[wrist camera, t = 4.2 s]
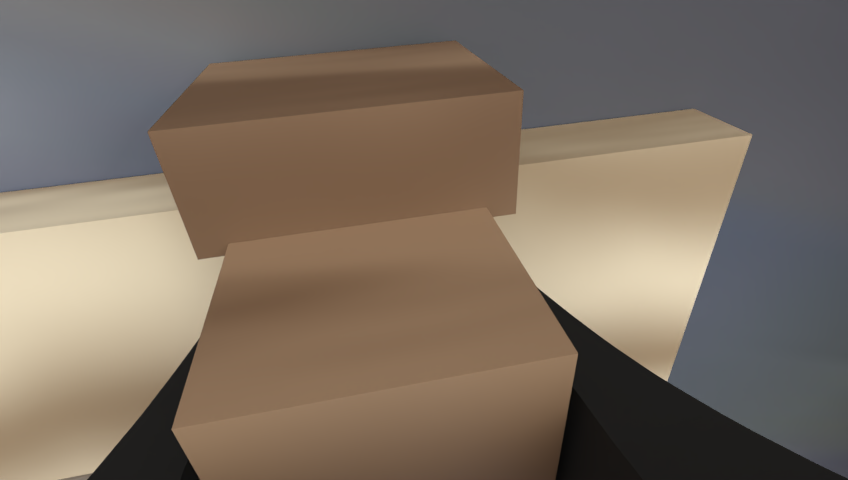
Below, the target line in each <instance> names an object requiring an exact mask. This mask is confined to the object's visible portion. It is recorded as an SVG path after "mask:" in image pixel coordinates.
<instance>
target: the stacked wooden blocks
mask: <svg viewBox="0 0 848 480" xmlns="http://www.w3.org/2000/svg"><path fill="white" fill-rule="evenodd" d="M522 107H523V90H522V89H521V88H520V87H518V86H517V85H516V84H514V83H513V82H511V81H510V80H509V79H507V78H506V77H505V76H503V75H502V74H500V73H499V72H498V71H496V70H495V69H494V68H492V67H491V66H489V65H488V64H487V63H485V62H484V61H483V60H481V59H480V58H478V57H477V56H476V55H474V54H473V53H472V52H470V51H469V50H467V49H466V48H465V47H463V46H462V45H461V44H459V43H458V42H456V41H446V42H436V43H425V44H415V45H404V46H393V47H383V48H372V49H362V50H351V51H341V52H330V53H319V54H309V55H298V56H288V57H277V58H267V59H256V60H245V61H235V62H224V63H214V64H209V65H208V66H207V68H206V69H205V70H204V71H203V72H202V73H201V74H200V75H199V76H198V77H197V78H196V79H195V81H194V82H193V83H192V84H191V85H190V86H189V87H188V88H187V89H186V90H185V91H184V93H183V94H182V95H181V96H180V97H179V98H178V99H177V100H176V101H175V102H174V103H173V105H172V106H171V107H170V108H169V109H168V110H167V111H166V112H165V113H164V114H163V115H162V116H161V118H160V119H159V120H158V121H157V122H156V123H155V124H154V125H153V126H152V127H151V128H150V130H149V131H148V134H149V137H150V139H151V142H152V145H153V147H154V150H155V152H156V155H157V157H158V160H159V162H160V165H161V167H162V170H163V172H164V175H165V178H166V180H167V183H168V185H169V188H170V190H171V193H172V195H173V198H174V200H175V203H176V205H177V208H178V211H179V213H180V216H181V218H182V221H183V223H184V226H185V228H186V231H187V233H188V236H189V238H190V241H191V244H192V246H193V249H194V251H195V254H196V256H197V259H198V260H200V259H207V258H214V257H220V256H225V257H224V260H223V263H222V267H221V270H220V273H219V276H218V280H217V283H216V286H215V289H214V293H213V296H212V299H211V302H210V306H209V309H208V312H207V315H206V319H205V322H204V325H203V328H202V332H201V335H200V338H199V341H198V345H197V348H196V351H195V354H194V358H193V361H192V364H191V367H190V371H189V374H188V377H187V380H186V384H185V387H184V390H183V393H182V397H181V400H180V403H179V406H178V410H177V413H176V416H175V419H174V423H173V426H172V429H171V430H172V431H173V433H174V435H175V437H176V438H177V440H178V442H179V444H180V445H181V447H182V449H183V451H184V452H185V454H186V456H187V458H188V459H189V461H190V463H191V465H192V466H193V468H194V470H195V472H196V473H197V475H198V477H199V479H200V480H556V474H557V468H558V463H559V457H560V452H561V446H562V441H563V435H564V430H565V424H566V419H567V413H568V407H569V402H570V396H571V391H572V385H573V380H574V374H575V369H576V363H577V358H578V352H577V351H576V349H575V347H574V346H573V344H572V343H571V341H570V339H569V338H568V336H567V335H566V333H565V331H564V330H563V328H562V327H561V325H560V324H559V322H558V320H557V319H556V317H555V316H554V314H553V312H552V311H551V309H550V308H549V306H548V304H547V303H546V301H545V300H544V298H543V296H542V295H541V293H540V292H539V290H538V288H537V287H536V285H535V284H534V282H533V280H532V279H531V277H530V276H529V274H528V272H527V271H526V269H525V268H524V266H523V264H522V263H521V261H520V260H519V258H518V256H517V255H516V253H515V252H514V250H513V248H512V247H511V245H510V244H509V242H508V241H507V239H506V237H505V236H504V234H503V233H502V231H501V229H500V228H499V226H498V225H497V223H496V221H495V220H494V218H493V217H497V216H504V215H511V214H516V204H517V188H518V171H519V155H520V139H521V123H522Z"/></svg>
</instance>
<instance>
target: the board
mask: <svg viewBox="0 0 848 480" xmlns="http://www.w3.org/2000/svg"><path fill="white" fill-rule="evenodd" d="M751 137H752V134H750V133H747V132H745V131H743V130H741V129H738V128H736V127H734V126H732V125H729V124H727V123H725V122H723V121H720V120H718V119H716V118H714V117H711V116H709V115H707V114H705V113H702V112H700V111H698V110H696V109H688V110H680V111H671V112H663V113H655V114H647V115H638V116H630V117H622V118H614V119H605V120H597V121H589V122H581V123H572V124H564V125H556V126H548V127H539V128H531V129H523V130H521V139H520V155H519V171H518V188H517V204H516V214H511V215H504V216H497V217H493V218H494V220H495V221H496V223H497V225H498V226H499V228H500V229H501V231H502V233H503V234H504V236H505V237H506V239H507V241H508V242H509V244H510V245H511V247H512V248H513V250H514V252H515V253H516V255H517V256H518V258H519V260H520V261H521V263H522V264H523V266H524V268H525V269H526V271H527V272H528V274H529V276H530V277H531V279H532V280H533V282H534V284H535V285H536V287H537V288H539V289H540V290H541V291H542V292H544V293H545V294H546V295H547V296H549V297H550V298H551V299H552V300H553V301H555V302H556V303H557V304H558V305H560V306H561V307H562V308H563V309H565V310H566V311H567V312H569V313H570V314H571V315H572V316H574V317H575V318H576V319H578V320H579V321H580V322H582V323H583V324H584V325H586V326H587V327H588V328H590V329H591V330H592V331H594V332H595V333H596V334H598V335H599V336H600V337H602V338H603V339H604V340H606V341H607V342H609V343H610V344H611V345H613V346H614V347H616V348H617V349H619V350H620V351H622V352H623V353H624V354H626V355H627V356H629V357H630V358H632V359H633V360H635V361H636V362H638V363H639V364H641V365H642V366H644V367H645V368H647V369H648V370H650V371H651V372H653V373H654V374H656V375H657V376H659V377H660V378H662V379H664V380H665V381H667V380H668V378H669V375H670V372H671V369H672V366H673V363H674V360H675V357H676V354H677V351H678V349H679V346H680V343H681V340H682V337H683V334H684V331H685V328H686V325H687V323H688V320H689V317H690V314H691V311H692V308H693V305H694V302H695V299H696V296H697V294H698V291H699V288H700V285H701V282H702V279H703V276H704V273H705V270H706V267H707V265H708V262H709V259H710V256H711V253H712V250H713V247H714V244H715V241H716V239H717V236H718V233H719V230H720V227H721V224H722V221H723V218H724V215H725V212H726V210H727V207H728V204H729V201H730V198H731V195H732V192H733V189H734V186H735V183H736V181H737V178H738V175H739V172H740V169H741V166H742V163H743V160H744V157H745V154H746V152H747V149H748V146H749V143H750V140H751ZM224 257H225V256H220V257H214V258H207V259H200V260H198V259H197V256H196V254H195V251H194V249H193V246H192V244H191V241H190V238H189V236H188V233H187V231H186V228H185V226H184V223H183V221H182V218H181V216H180V213H179V211H178V208H177V205H176V203H175V200H174V198H173V195H172V193H171V190H170V188H169V185H168V183H167V180H166V178H165V175H164V173H160V174H152V175H143V176H135V177H127V178H119V179H110V180H102V181H94V182H86V183H77V184H69V185H61V186H53V187H44V188H36V189H28V190H20V191H11V192H3V193H0V480H87V479H88V478H89V477H90V476H91V474H92V473H93V472H94V471H95V470H96V469H97V467H98V466H99V465H100V464H101V463H102V461H103V460H104V459H105V458H106V457H107V455H108V454H109V453H110V452H111V451H112V450H113V448H114V447H115V446H116V445H117V444H118V442H119V441H120V440H121V439H122V438H123V436H124V435H125V434H126V433H127V432H128V430H129V429H130V428H131V427H132V426H133V424H134V423H135V422H136V421H137V420H138V418H139V417H140V416H141V415H142V413H143V412H144V411H145V409H146V408H147V407H148V406H149V404H150V403H151V402H152V400H153V399H154V398H155V397H156V395H157V394H158V393H159V391H160V390H161V389H162V387H163V386H164V385H165V384H166V382H167V381H168V380H169V378H170V377H171V376H172V374H173V373H174V372H175V370H176V369H177V368H178V366H179V365H180V364H181V362H182V361H183V360H184V358H185V357H186V356H187V354H188V353H189V352H190V350H191V349H192V347H193V346H194V345H195V343H196V342H197V341H198V339H199V338H200V335H201V332H202V328H203V325H204V322H205V319H206V315H207V312H208V309H209V306H210V302H211V299H212V296H213V293H214V289H215V286H216V283H217V280H218V276H219V273H220V270H221V267H222V263H223V260H224Z"/></svg>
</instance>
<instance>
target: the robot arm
mask: <svg viewBox="0 0 848 480" xmlns="http://www.w3.org/2000/svg"><path fill="white" fill-rule="evenodd" d="M538 290H539V292H540V293H541V295H542V296H543V298H544V300H545V301H546V303H547V304H548V306H549V308H550V309H551V311H552V312H553V314H554V316H555V317H556V319H557V320H558V322H559V324H560V325H561V327H562V328H563V330H564V331H565V333H566V335H567V336H568V338H569V339H570V341H571V343H572V344H573V346H574V347H575V349H576V351H577V352H578V358H577V363H576V369H575V374H574V380H573V385H572V391H571V396H570V402H569V407H568V413H567V419H566V424H565V430H564V435H563V441H562V446H561V452H560V457H559V463H558V468H557V474H556V480H848V479H847V478H845V477H843V476H841V475H839V474H837V473H835V472H832V471H830V470H828V469H826V468H824V467H822V466H820V465H818V464H816V463H814V462H812V461H810V460H808V459H806V458H804V457H802V456H800V455H798V454H796V453H794V452H792V451H790V450H788V449H786V448H784V447H783V446H781V445H779V444H777V443H775V442H773V441H771V440H769V439H767V438H765V437H763V436H761V435H759V434H757V433H755V432H753V431H752V430H750V429H748V428H746V427H744V426H742V425H741V424H739V423H737V422H735V421H733V420H731V419H730V418H728V417H726V416H724V415H722V414H721V413H719V412H717V411H715V410H714V409H712V408H710V407H709V406H707V405H705V404H704V403H702V402H700V401H699V400H697V399H695V398H693V397H692V396H690V395H688V394H687V393H685V392H683V391H682V390H680V389H678V388H676V387H675V386H673V385H672V384H670V383H668V382H667V381H665V380H664V379H662V378H660V377H659V376H657V375H656V374H654V373H653V372H651V371H650V370H648V369H647V368H645V367H644V366H642V365H641V364H639V363H638V362H636V361H635V360H633V359H632V358H630V357H629V356H627V355H626V354H624V353H623V352H622V351H620V350H619V349H617V348H616V347H614V346H613V345H611V344H610V343H609V342H607V341H606V340H604V339H603V338H602V337H600V336H599V335H598V334H596V333H595V332H594V331H592V330H591V329H590V328H588V327H587V326H586V325H584V324H583V323H582V322H580V321H579V320H578V319H576V318H575V317H574V316H572V315H571V314H570V313H569V312H567V311H566V310H565V309H563V308H562V307H561V306H560V305H558V304H557V303H556V302H555V301H553V300H552V299H551V298H550V297H549V296H547V295H546V294H545V293H544V292H542V291H541V290H540V289H539V288H538ZM198 341H199V339H198ZM198 341H197V342H196V343H195V345H194V346H193V347H192V349H191V350H190V352H189V353H188V354H187V356H186V357H185V358H184V360H183V361H182V362H181V364H180V365H179V366H178V368H177V369H176V370H175V372H174V373H173V374H172V376H171V377H170V378H169V380H168V381H167V382H166V384H165V385H164V386H163V387H162V389H161V390H160V391H159V393H158V394H157V395H156V397H155V398H154V399H153V400H152V402H151V403H150V404H149V406H148V407H147V408H146V409H145V411H144V412H143V413H142V415H141V416H140V417H139V418H138V420H137V421H136V422H135V423H134V424H133V426H132V427H131V428H130V429H129V430H128V432H127V433H126V434H125V435H124V436H123V438H122V439H121V440H120V441H119V442H118V444H117V445H116V446H115V447H114V448H113V450H112V451H111V452H110V453H109V454H108V455H107V457H106V458H105V459H104V460H103V461H102V463H101V464H100V465H99V466H98V467H97V469H96V470H95V471H94V472H93V473H92V474H91V476H90V477H89V478H88V479H87V480H200V479H199V477H198V475H197V473H196V472H195V470H194V468H193V466H192V465H191V463H190V461H189V459H188V458H187V456H186V454H185V452H184V451H183V449H182V447H181V445H180V444H179V442H178V440H177V438H176V437H175V435H174V433H173V431H172V430H171V429H172V426H173V423H174V419H175V416H176V413H177V410H178V406H179V403H180V400H181V397H182V393H183V390H184V387H185V384H186V380H187V377H188V374H189V371H190V367H191V364H192V361H193V358H194V354H195V351H196V348H197V345H198Z"/></svg>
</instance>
